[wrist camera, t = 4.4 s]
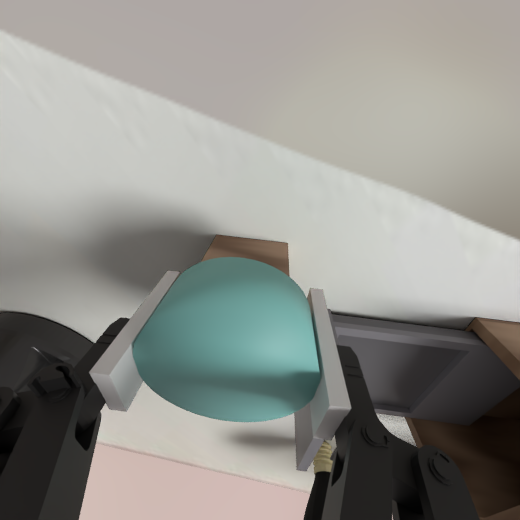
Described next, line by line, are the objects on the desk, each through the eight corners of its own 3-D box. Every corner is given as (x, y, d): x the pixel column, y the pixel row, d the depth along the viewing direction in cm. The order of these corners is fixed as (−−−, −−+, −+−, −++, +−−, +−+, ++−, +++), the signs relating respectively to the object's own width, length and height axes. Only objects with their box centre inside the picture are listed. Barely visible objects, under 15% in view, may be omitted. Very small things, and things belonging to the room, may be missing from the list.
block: (217, 289, 18) (197, 340, 14) (216, 234, 16) (191, 276, 11) (278, 297, 18) (277, 351, 14) (287, 243, 15) (289, 288, 11)
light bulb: (297, 429, 30) (305, 587, 20) (349, 433, 29) (385, 598, 19) (296, 450, 33) (302, 593, 23) (342, 453, 33) (370, 602, 23)
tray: (293, 391, 24) (296, 469, 19) (320, 308, 18) (337, 391, 12) (457, 413, 24) (509, 500, 18) (548, 336, 17) (672, 436, 12)
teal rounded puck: (176, 352, 15) (150, 410, 12) (158, 247, 11) (110, 296, 8) (296, 368, 15) (300, 431, 12) (327, 267, 10) (345, 326, 7)
